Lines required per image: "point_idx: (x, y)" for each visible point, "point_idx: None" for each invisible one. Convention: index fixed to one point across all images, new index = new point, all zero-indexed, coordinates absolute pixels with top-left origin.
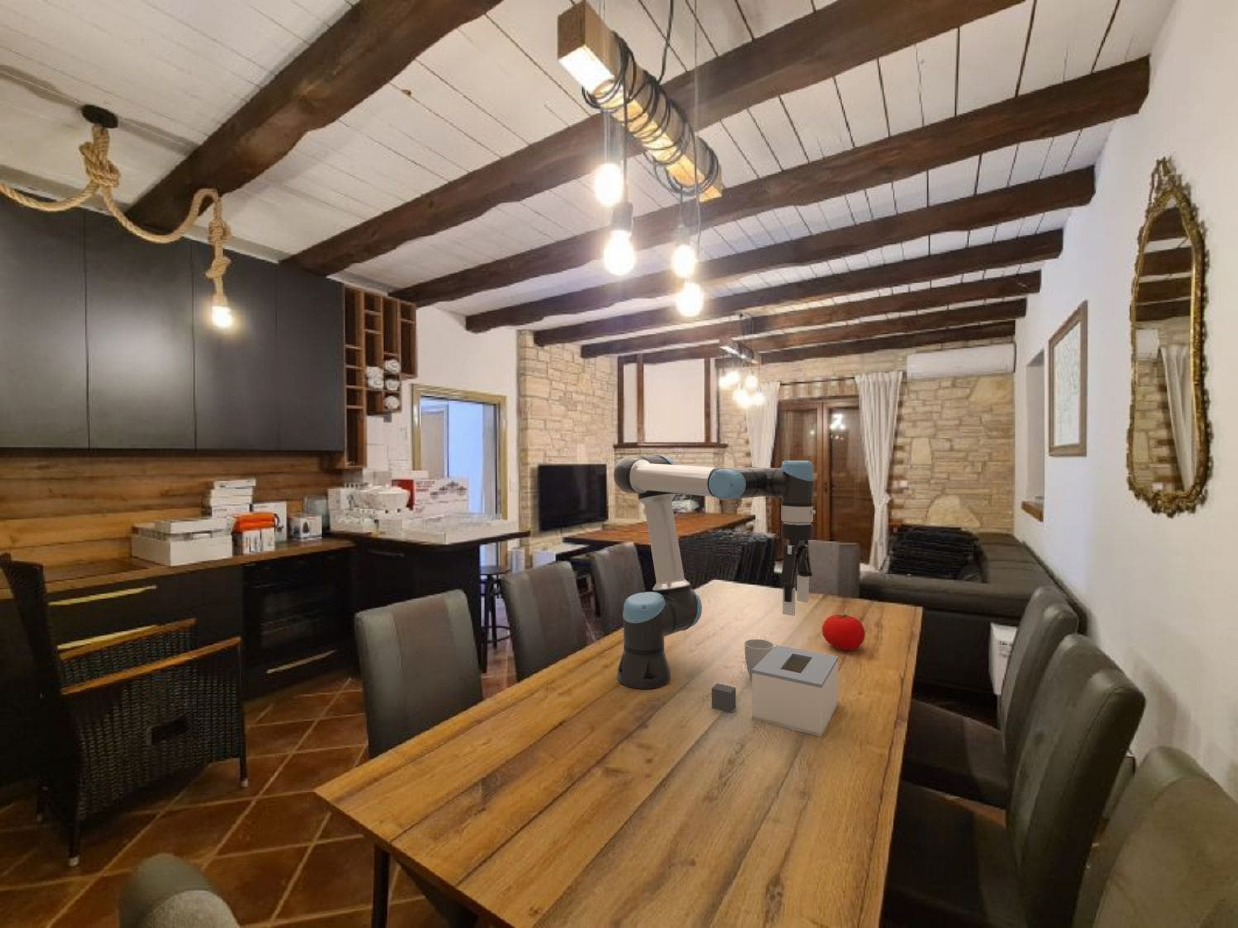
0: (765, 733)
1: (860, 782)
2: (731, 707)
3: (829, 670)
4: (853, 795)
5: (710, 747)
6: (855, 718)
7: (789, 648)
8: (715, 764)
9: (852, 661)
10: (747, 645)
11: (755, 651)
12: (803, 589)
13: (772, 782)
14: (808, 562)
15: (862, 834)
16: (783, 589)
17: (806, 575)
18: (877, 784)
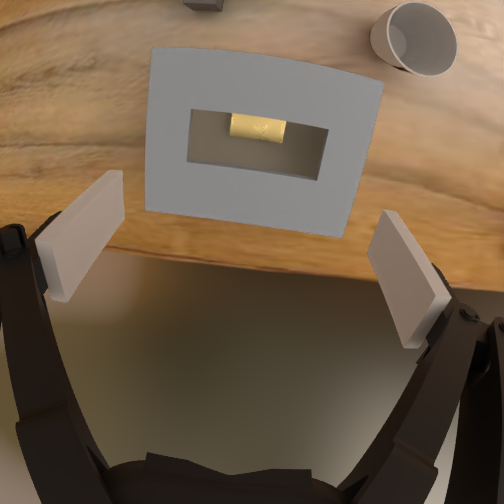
0: (142, 86)
1: None
2: (195, 8)
3: (237, 221)
4: None
5: (67, 32)
6: None
7: (367, 119)
8: (36, 59)
9: (495, 223)
10: (430, 12)
11: (384, 27)
12: (391, 273)
13: (37, 134)
14: (459, 419)
15: None
16: (43, 234)
17: (429, 342)
18: None
